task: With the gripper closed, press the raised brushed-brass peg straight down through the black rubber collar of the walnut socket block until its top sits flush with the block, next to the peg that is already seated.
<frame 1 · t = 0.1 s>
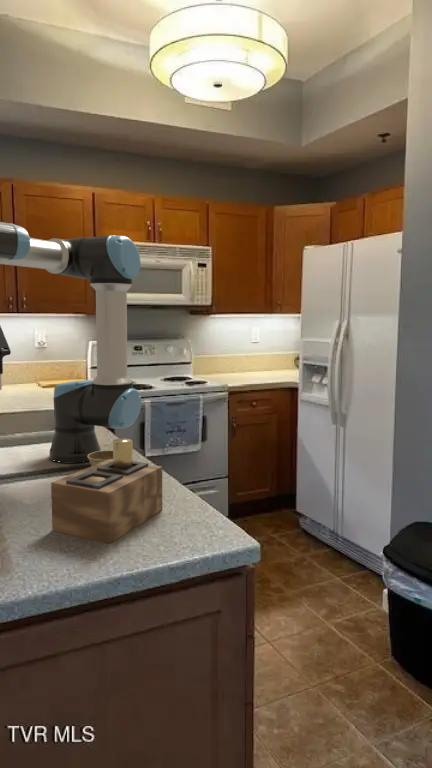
flower pot: (107, 489, 138), on the countertop
peg: (122, 458, 120), point 12 cm above the countertop, slide at 6.0 cm
socket block: (110, 519, 117), on the countertop
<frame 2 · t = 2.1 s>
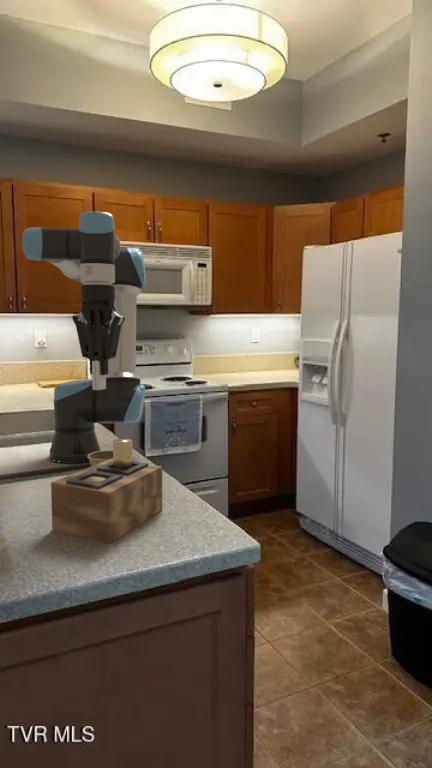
hand: (99, 389, 125), 26 cm above the countertop, fingers closed
nothing on the countertop moved.
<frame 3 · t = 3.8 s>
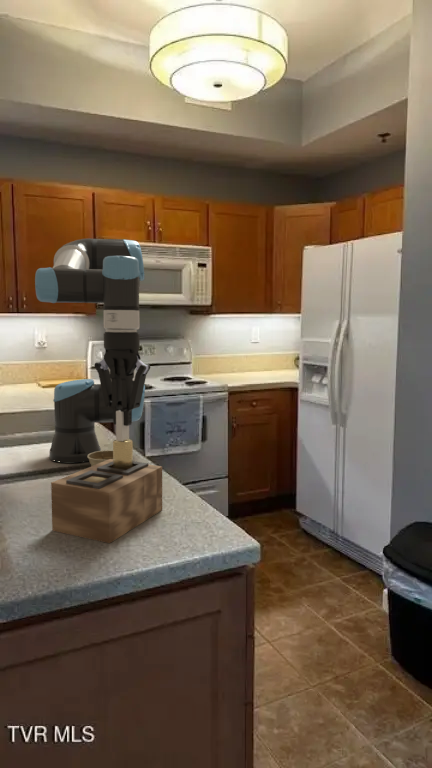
hand: (122, 439, 119), 16 cm above the countertop, fingers closed
peg: (122, 459, 120), point 12 cm above the countertop, slide at 6.0 cm, touching gripper
everything else where it was.
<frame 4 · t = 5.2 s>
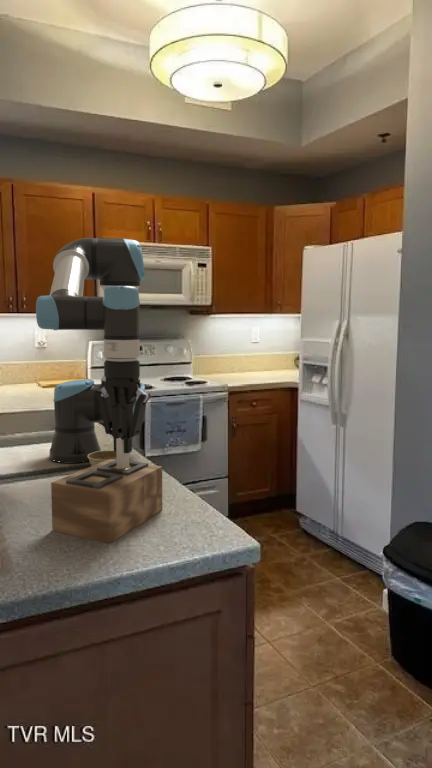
hand: (123, 466, 120), 10 cm above the countertop, fingers closed
peg: (123, 485, 121), point 6 cm above the countertop, slide at -0.1 cm, touching gripper
everything else where it was.
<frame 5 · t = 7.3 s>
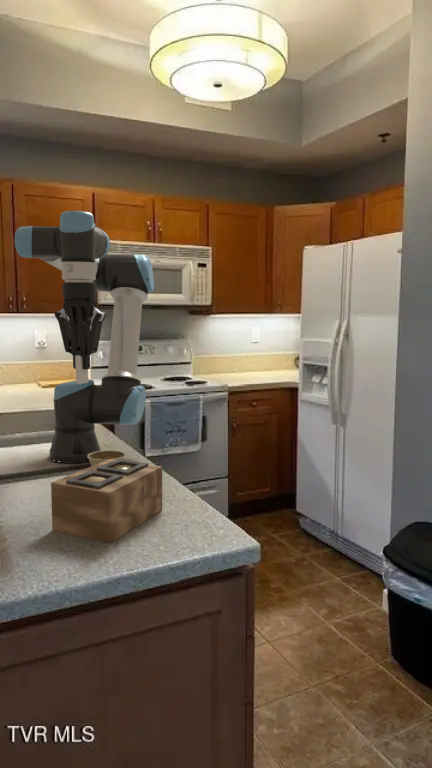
hand: (82, 382, 130), 27 cm above the countertop, fingers closed
peg: (123, 485, 121), point 6 cm above the countertop, slide at -0.1 cm
everything else where it was.
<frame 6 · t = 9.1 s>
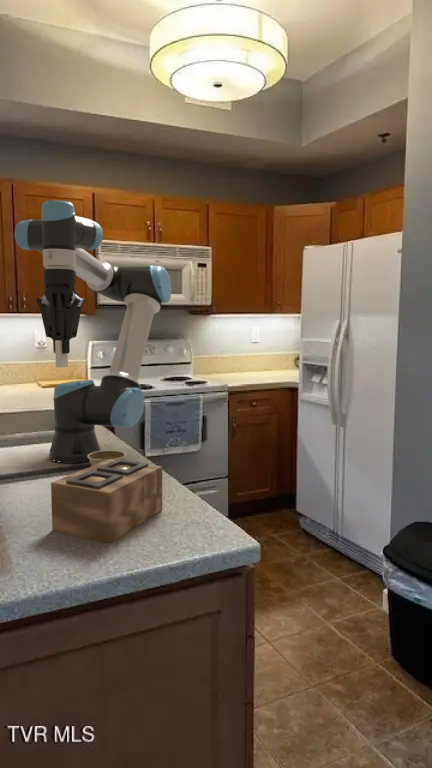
hand: (61, 366, 134), 30 cm above the countertop, fingers closed
nothing on the countertop moved.
at the end: peg slide at -0.1 cm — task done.
